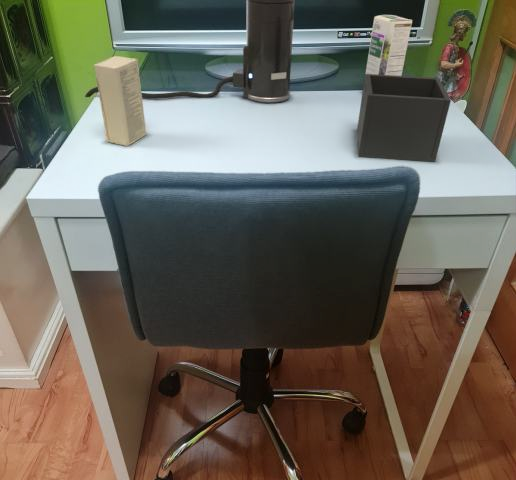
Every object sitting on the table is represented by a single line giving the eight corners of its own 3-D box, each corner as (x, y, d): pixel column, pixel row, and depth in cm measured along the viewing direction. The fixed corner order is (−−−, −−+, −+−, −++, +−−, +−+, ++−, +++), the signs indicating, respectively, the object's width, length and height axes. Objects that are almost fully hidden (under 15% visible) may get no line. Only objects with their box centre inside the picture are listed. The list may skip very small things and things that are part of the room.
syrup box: (361, 92, 112) (372, 15, 103) (382, 89, 115) (395, 13, 105) (377, 99, 109) (390, 20, 99) (398, 96, 111) (413, 18, 101)
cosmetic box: (126, 131, 91) (115, 55, 83) (148, 135, 90) (138, 58, 82) (105, 142, 87) (92, 63, 79) (128, 147, 86) (116, 67, 78)
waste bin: (358, 156, 85) (367, 95, 78) (356, 130, 94) (365, 73, 88) (435, 162, 84) (451, 100, 77) (425, 135, 93) (439, 77, 87)
